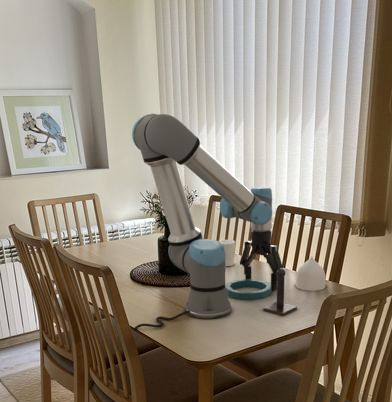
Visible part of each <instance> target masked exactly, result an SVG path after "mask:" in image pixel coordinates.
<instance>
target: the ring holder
mask: <svg viewBox="0 0 392 402" xmlns="http://www.w3.org/2000/svg"><path fill="white" fill-rule="evenodd" d="M276 274H277V289H276V302H273V303H271V304H268V305H267V306H264V307H263V310H262V311H264V312H267V313H271V314H274V315H278V316H281V317H284V316H286V315H288V314H290V313H292V312H294V311H296V310H297V309H298V306H296V305H292V304H289V303H285V281H286V280H285V279H286V278H285V277H286V270H285V269H284V268H283V269H282V268H280V269H278V270H277V272H276Z"/></svg>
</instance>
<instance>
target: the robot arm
mask: <svg viewBox="0 0 392 402" xmlns="http://www.w3.org/2000/svg"><path fill="white" fill-rule="evenodd" d="M131 139H132V141H133V143H134V146H136V148H137V149H138V150H139V151H140V154H141V156H142V159H143V163H144V164H145V165H147V166H149V167H150V171H151V173H152V176H153V181H154V183H155V186H156V190H157V193H158V197H159V200H160V203H161V207H162V209H163V213H164V215H165V219H166V222H167V225H168V229H169V232H170V234H169V236H168V238H167V240H168V244H169V246H168V256H169V259H170V261H171V262H172V263H173V265H174V266H175V267H176V268H177V269H179V270H181V271H183V272H185V273H187V274H188V275H189V282H190V283H189V284H190V289H189V294H188V297H187V302H186V304H185V311H183V312H180V313H177V314H176V315H174V316H171V317H166V316H162V315H161V316H157V317H156V318H155V320H156V322H157V323H158V324H152V323H139V324H137V325H135V327H133V329H132V331H137V330H138V329H139V328H141V327H149V328H161V327H163V326H164V322H163V321H162V320H165V321H173V320H176V319H177V318H180V317H182V316H184V315H185V316H186V315H188V316H190V317H192V318H196V319H202V320H203V319H205V320H210V319H219V318H222V317H226V316H228V315H230V313H231V312H232V305H231V301H230V300H229V296H228V295H227V292H226V289H225V286H226V266H225V258H226V256H225V249H224V246H223V245H222V244H221V243H220V242H218V241H219V240H215V239H207V238H204V237H203V234H202V231H201V229H200V228H198V227H196V226H195V222H194V219H193V215H192V212H191V208H190V205H189V200H188V198H187V194H186V190H185V187H184V184H183V180H182V176H181V172H180V169H179V166H185V167H187V168H188V169H189V170H190V171H191V172H192V173H193V174H195V175H196V176H197V177H198V178H199V179H200V180H201V181H203V182H204V184H206V185H207V186H208V187H209V188H210V189H212V191H214V192H215V193H216V194H218V195H219V196H220V197H221V199H220V201H219V212H220V214H221V216H222V217H223V219H233V218H237V219H240V220H242V221H245V222H249V223H250V229H251V231H250V240H247V241H244V248H243V251H242V254H241V257H240V260H239V265H240V266H242V267H243V274H244V276H245V277H244V279H252V266H251V263H253V261H254V260H255V257H256V256H257V255H260V256H263V257H264V258H265V260H266V262H267V264H268V266H269V268H270V270H271V273H270V285H271V292H272V291H275V290H277V274H276V272H277V270H278V269H280V268H282V269H284V267H283V263H282V259H281V256H280V252H279V245H272V243H271V242H272V235H273V234H272V230H271V229H272V226H273V225H272V223H273V222H272V221H273V220H272V219H273V218H272V216H273V193H272V191H273V190H272V188H271V187H269V186H264V185H262V186H261V185H260V186H253V187H251V189H249V188H247V187H246V186H245V184H243V183H242V182H241V181H240V180H239V179H238V178H237V177H236V176H235V175H233V174H232V173H231V172H230V171H229V170H228V169H227V168H226V167H225V166H224V165H223V164H222V163H220V161H219V160H217V159H216V158H215V157H214V156H213V155H212V154H211V153H210V152H209V151H207V149H206V148H204V147H203V146H202V144H201V142H202V141H201V139H200V138H199V137H198V136H196V135H195V133H194V132H192V131H191V130H190V129H189V127H187V126H186V125H185V124H184V123H182V121H180V120H179V119H178V118H176V117H175V116H173V115H171V114H167V113H162V114H161V113H159V114H158V113H157V114H156V113H150V114H149V113H148V114H145V115H142V116H141V117H139V118H138V119H136V121H135V123H134V124H133V126H132V131H131Z"/></svg>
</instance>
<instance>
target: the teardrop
mask: <svg viewBox="0 0 392 402" xmlns="http://www.w3.org/2000/svg"><path fill="white" fill-rule="evenodd" d="M325 272H326V271H325V270H324V267H323V266H322V265H320V264H319V263H318V262H317V261H316V260H315V259H314V257H313V255H311V256H310V258H309V259H308V260H306V261H305V262H303V263H302V264H301V265H300V266H299V268H298V269H297V272H296V278H295V287H296V288H297V289H299V290H300V291H301V290H302V291H309V292H313V291H314V292H315V291H321V290H324V289H326V273H325Z"/></svg>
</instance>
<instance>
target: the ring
mask: <svg viewBox="0 0 392 402" xmlns="http://www.w3.org/2000/svg"><path fill="white" fill-rule="evenodd" d="M245 287H246V288H247V287H252V288H258V289H260V290H255V291H242V290H236V289H237V288H238V289H239V288H245ZM225 289H226V292H227V296H228V298H229V297H230V298H233V299H236V300H248V301H253V300H260V299H265V298H267V297H269V296H271V294H272V290H271V283H269V282H268V281H265V280H262V279H261V280H260V279H252V278H251V279H245V278H244V279H234V280H231V281H228V282H227V283H225Z"/></svg>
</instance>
